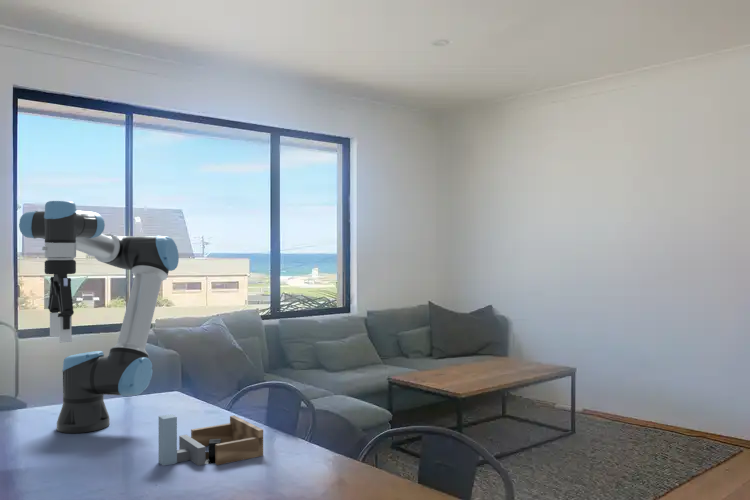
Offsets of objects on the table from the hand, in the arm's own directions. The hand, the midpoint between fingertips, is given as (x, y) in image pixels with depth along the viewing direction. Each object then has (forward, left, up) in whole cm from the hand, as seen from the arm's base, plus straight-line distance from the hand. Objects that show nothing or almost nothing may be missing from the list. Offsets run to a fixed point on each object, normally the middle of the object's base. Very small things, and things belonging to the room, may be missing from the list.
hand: (60, 339), depth 173 cm
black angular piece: (+23, +34, -32) cm, 52 cm away
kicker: (+20, +25, -32) cm, 45 cm away
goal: (+20, +39, -32) cm, 54 cm away
